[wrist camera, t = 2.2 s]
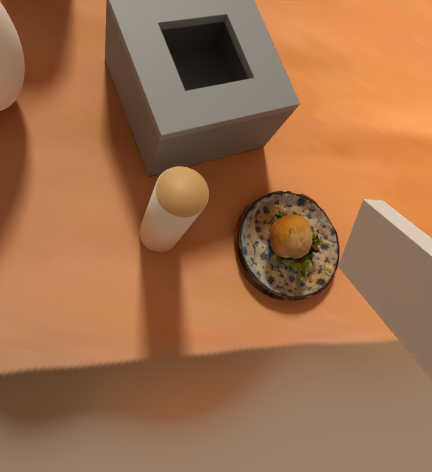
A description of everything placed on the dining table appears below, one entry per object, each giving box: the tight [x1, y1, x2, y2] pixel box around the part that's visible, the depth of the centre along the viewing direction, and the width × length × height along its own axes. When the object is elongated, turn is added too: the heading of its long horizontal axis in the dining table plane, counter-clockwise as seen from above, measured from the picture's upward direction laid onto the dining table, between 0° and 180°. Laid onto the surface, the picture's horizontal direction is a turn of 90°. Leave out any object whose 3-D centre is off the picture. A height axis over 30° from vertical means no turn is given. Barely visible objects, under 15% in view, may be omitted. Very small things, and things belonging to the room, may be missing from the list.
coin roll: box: [139, 166, 209, 252], centre depth 35 cm, size 4×4×12 cm
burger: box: [234, 191, 339, 301], centre depth 41 cm, size 12×12×8 cm
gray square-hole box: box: [105, 0, 300, 177], centre depth 41 cm, size 14×14×9 cm
